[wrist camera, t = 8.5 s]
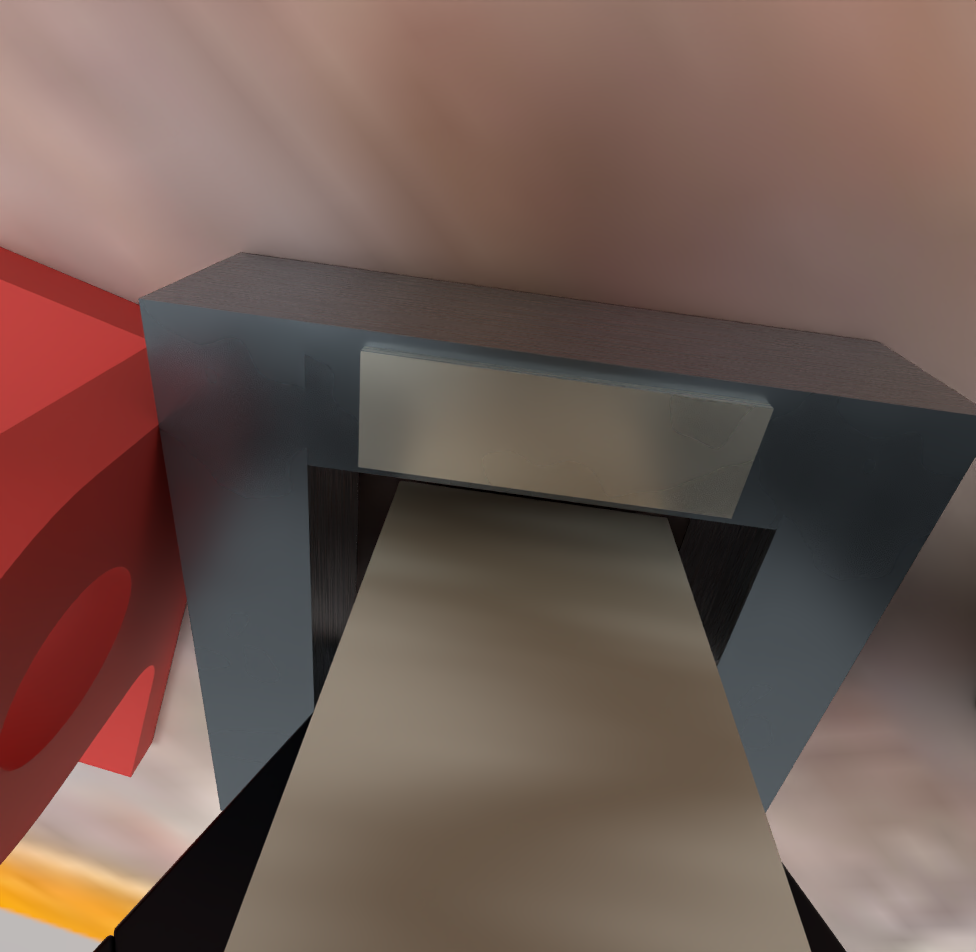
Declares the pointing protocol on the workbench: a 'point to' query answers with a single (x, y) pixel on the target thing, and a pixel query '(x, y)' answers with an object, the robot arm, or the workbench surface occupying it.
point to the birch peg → (520, 753)
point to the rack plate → (532, 470)
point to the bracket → (78, 539)
